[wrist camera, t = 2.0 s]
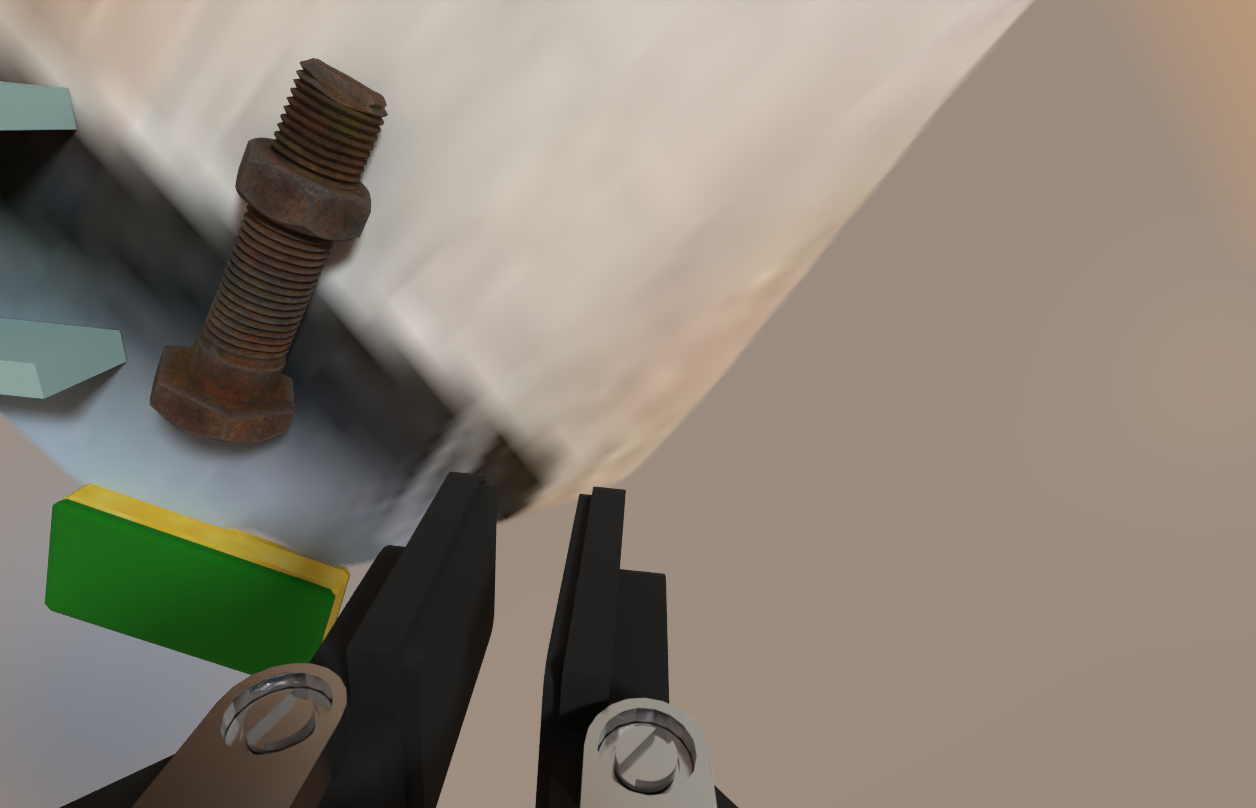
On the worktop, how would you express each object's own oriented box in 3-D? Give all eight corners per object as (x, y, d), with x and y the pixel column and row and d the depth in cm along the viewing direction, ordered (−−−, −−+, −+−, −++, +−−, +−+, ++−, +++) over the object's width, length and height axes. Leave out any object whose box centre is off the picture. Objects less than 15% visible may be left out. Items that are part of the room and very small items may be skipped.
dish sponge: (90, 476, 34) (51, 500, 32) (353, 567, 35) (333, 597, 33) (79, 580, 36) (42, 609, 34) (324, 661, 38) (304, 694, 36)
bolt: (403, 96, 28) (280, 386, 32) (272, 26, 25) (158, 357, 29) (430, 133, 23) (284, 459, 28) (276, 53, 20) (142, 434, 25)
